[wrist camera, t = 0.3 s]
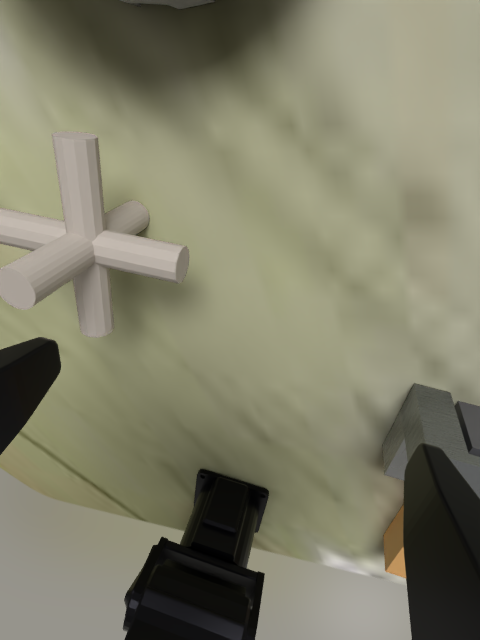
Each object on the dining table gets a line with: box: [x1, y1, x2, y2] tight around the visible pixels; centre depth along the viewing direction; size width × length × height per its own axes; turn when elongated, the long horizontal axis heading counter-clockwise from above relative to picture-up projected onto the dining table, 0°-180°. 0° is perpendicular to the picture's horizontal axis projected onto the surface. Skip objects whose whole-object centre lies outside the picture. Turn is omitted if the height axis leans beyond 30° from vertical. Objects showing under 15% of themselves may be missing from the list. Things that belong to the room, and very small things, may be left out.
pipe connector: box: [0, 131, 189, 337], centre depth 19 cm, size 10×10×10 cm
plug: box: [383, 401, 480, 578], centre depth 27 cm, size 16×4×4 cm, turn 172°
